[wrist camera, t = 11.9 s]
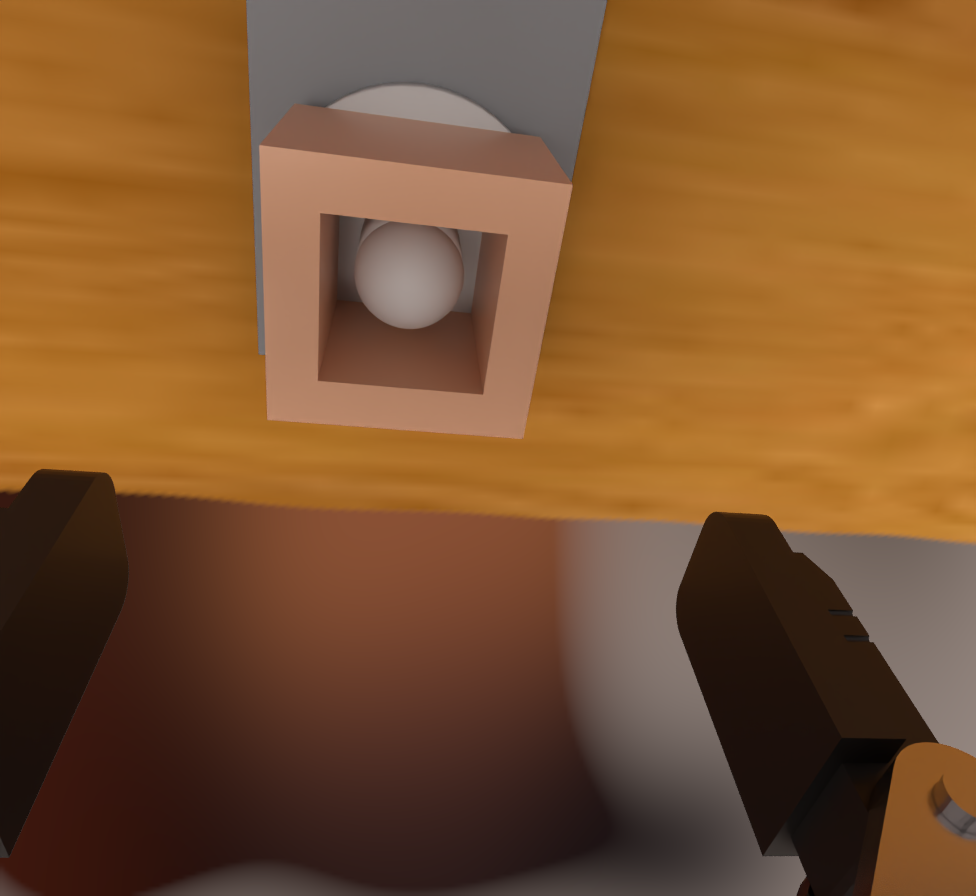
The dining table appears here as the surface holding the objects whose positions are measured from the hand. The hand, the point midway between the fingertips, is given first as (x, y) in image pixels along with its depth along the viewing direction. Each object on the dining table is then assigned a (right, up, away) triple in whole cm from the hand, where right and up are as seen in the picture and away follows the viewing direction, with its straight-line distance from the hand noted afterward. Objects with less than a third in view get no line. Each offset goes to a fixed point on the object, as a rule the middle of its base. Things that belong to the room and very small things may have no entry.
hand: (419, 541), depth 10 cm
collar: (-1, +7, +11) cm, 13 cm away
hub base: (-1, +12, +11) cm, 16 cm away
